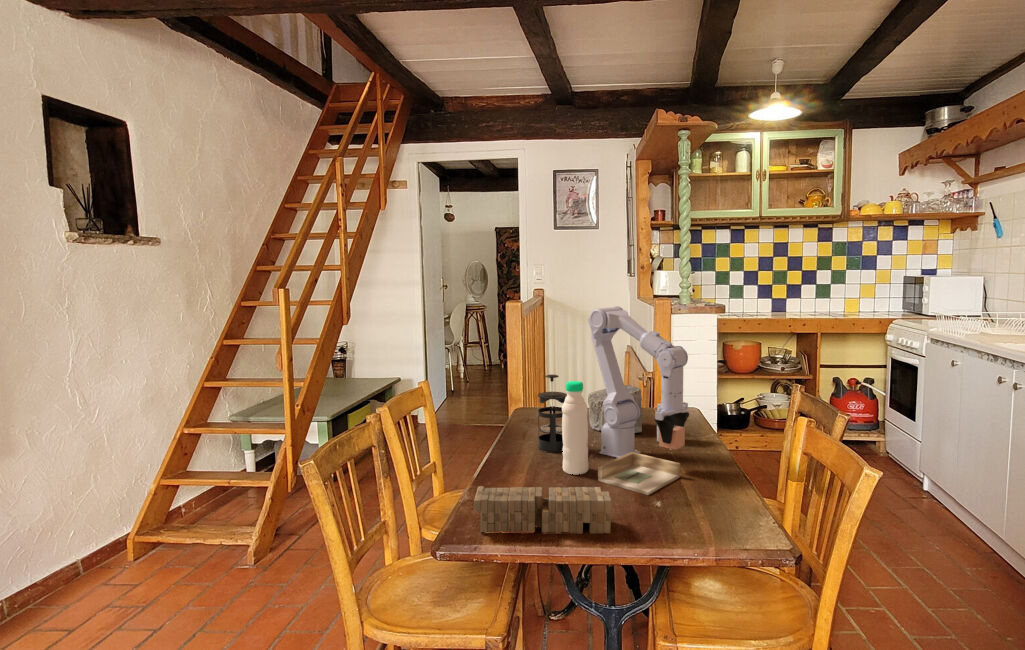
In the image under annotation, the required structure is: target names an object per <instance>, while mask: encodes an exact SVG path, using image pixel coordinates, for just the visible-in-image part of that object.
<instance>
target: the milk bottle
mask: <svg viewBox="0 0 1025 650" xmlns="http://www.w3.org/2000/svg"><path fill="white" fill-rule="evenodd" d="M583 390H584V384H583V382H582V381H579V380H571V381H570V380H569V381H567V382H566V383H565V392H566V394H567V396H566V397H565V402H564V403H562V406H561V407H562V412H561V413H563V416H562V417H561V418H562V419H561V425H562V433H561V434H562V438H563V452H562V470H563V472H564V473H566V474H568V475H572V474H573V475H575V476H577V475H579V474H580V475H584V474H586V473H588V471H589V460H588V458H589V457H588V456H589V447H588V441H589V440H588V439H589V421H588V420H589V418H588V412H589V406H588V405H587V402H586V401H585V399H584V396H583V395H582V393H583Z"/></svg>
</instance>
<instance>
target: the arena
mask: <svg viewBox="0 0 1025 650" xmlns="http://www.w3.org/2000/svg"><path fill="white" fill-rule="evenodd" d="M679 478H681V463H680V462H676V461H672V460H668V459H663V458H659V457H655V456H651V455H647V454H642V453H640V454H639V453H635V452H630V453H627V454H625V455H623V456H621V457H619V458H616V457H615V459H612V460H610V461H608V462H606V463H603V464H601V465H599V466H598V467H597V481H598V482H601V483H604V484H608V485H611V486H615V487H618V488H621V489H626V490H629V491H633V492H636V493H639V494H643V495H646V496H650V495H652V494H653V493H654V492H657V491H658V490H660V489H661V488H663V487H665V486H667V485H668V484H671V483H673V482H674V481H676V480H677V479H679Z"/></svg>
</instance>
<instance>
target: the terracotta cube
mask: <svg viewBox="0 0 1025 650" xmlns="http://www.w3.org/2000/svg"><path fill="white" fill-rule="evenodd" d="M685 428H686V427H685V426H684V427H680V426H675V425H674V428H673V432H672V440H671V443H670V444H668V443H663V441H662V437H661V433H660V430H659V442H658V447H662V448H666V449H671V450H676V451H677V450H678V449H680V448H682V447H684V446H685V445H686V444H685V443H686V442H685V441H686V440H685V438H686V436H685V434H686V431H685V430H686V429H685Z"/></svg>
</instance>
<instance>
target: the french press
mask: <svg viewBox="0 0 1025 650" xmlns="http://www.w3.org/2000/svg"><path fill="white" fill-rule="evenodd" d="M544 377H545V378H548V379H550V382H551V391H544V392H540V393H538V394H537V397H538V402H539V403H540V404H545V403H546V402H547V401H549V400H551V405H549V406H545V407H540V408H538V410H537V420H538V421H537V427H538V431H537V433H538V436H537V438H538V445H537V449H538V448H539V449H540V450H543V451H546V452H545V453H548V452H558V453H562V452H561V451H563V438H562V424H556V419H561V418H562V416H563V413H562V406H561V407H559V406H556V405H554V400H555V401H557V402H559V403H560V404H563V403H564V402H565V399H566V397H567V395H568V393H567V392H566V393H565V392H562V391H554V388H553V384H554V383H553V382H554V378H555V379H557V378H559V375H558V374H545V376H544ZM544 412H545V413H544ZM546 412H549V413H546ZM556 412H560V413H556ZM540 418H543V419H544V418H545V419H549V424H543V425H540ZM540 432H541V433H544V434H541V435H540ZM539 449H538V450H539ZM540 450H539V451H540ZM543 451H542V452H543Z"/></svg>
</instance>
